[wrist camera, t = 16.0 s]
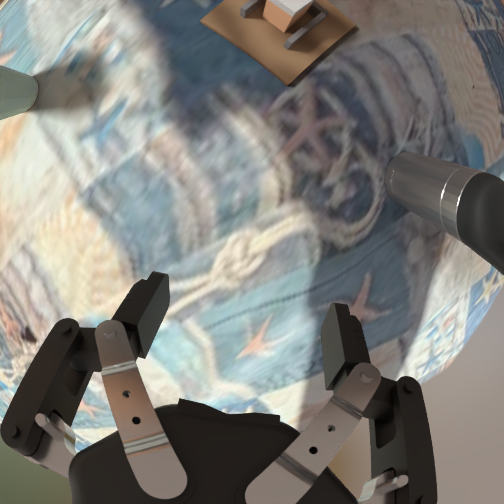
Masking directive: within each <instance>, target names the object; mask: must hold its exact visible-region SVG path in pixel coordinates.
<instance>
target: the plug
mask: <svg viewBox="0 0 504 504" xmlns="http://www.w3.org/2000/svg"><path fill="white" fill-rule="evenodd" d="M313 1H314V0H267V1H266V5H265V8H264V12H263V16H262V17H263V18H265V19H266V20H268V21H269V22H270V23H272V24H273V25H275V26H276V27H277V28H279V29H280V30H281V31H283V32H286V31H287V30H288V29H289V28H290V27H292V26H293V25H294V24H295V23H297V22H298V21H299V20H301V19H302V18H303V16H304V15H305V13H306V12H307V10H308V9H309V7H310V6H311V4H312V3H313Z"/></svg>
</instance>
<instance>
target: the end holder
mask: <svg viewBox="0 0 504 504" xmlns="http://www.w3.org/2000/svg"><path fill="white" fill-rule="evenodd" d="M266 1H267V0H224V1H223V2H222V3H220V4H219V5H218V6H217V7H215V8H214V9H213V10H212V11H211V12H210V13H208V14H207V15H206V16H205V17H204V18H203V19H202V20H200V22H201V23H202V24H203V25H205V26H206V27H208V28H210V29H211V30H213V31H214V32H216V33H217V34H219V35H220V36H222V37H223V38H225V39H226V40H228V41H229V42H231V43H232V44H234V45H235V46H237V47H238V48H239V49H241V50H242V51H243V52H245V53H246V54H248V55H249V56H250V57H252V58H253V59H254V60H256V61H257V62H258V63H259V64H261V65H262V66H263V67H264V68H266V69H267V70H268V71H269V72H271V73H272V74H273V75H274V76H276V77H277V78H278V79H279V80H280V81H282V82H283V83H284V84H285V85H286V86H288V85H289V84H290V83H291V82H292V81H293V80H294V79H295V78H296V77H297V76H298V75H299V74H300V73H301V72H302V71H303V70H305V69H306V68H307V67H308V66H309V65H310V64H311V63H312V62H313V61H314V60H316V59H317V58H318V57H319V56H320V55H321V54H322V53H323V52H325V51H326V50H327V49H328V48H329V47H330V46H332V45H333V44H334V43H335V42H336V41H337V40H339V39H340V38H341V37H342V36H343V35H345V34H346V33H347V32H348V31H350V30H351V29H352V28H353V27H355V26H356V25H355V24H354V23H353V22H352V21H351V20H350V19H349V18H347V17H346V16H345V15H344V14H343V13H342V12H341V11H339V10H338V9H337V8H336V7H335V6H333V5H332V4H331V3H330V2H328V1H327V0H314V1H313V3H312V4H311V6H310V7H309V9H308V10H307V12H306V13H305V15H304V16H303V18H302V19H301V20H299V21H298V22H297V23H295V24H294V25H293V26H292V27H290V28H289V29H288V30H287V31H286V32H283V31H281V30H280V29H279V28H277V27H276V26H275V25H273V24H272V23H270V22H269V21H268V20H266V19H265V18H263V17H262V16H263V12H264V8H265V5H266Z"/></svg>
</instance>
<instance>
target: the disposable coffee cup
mask: <svg viewBox="0 0 504 504" xmlns="http://www.w3.org/2000/svg"><path fill="white" fill-rule="evenodd" d="M38 90H39V87H38V83H37V81H36V80H35V79H34V78H33V77H32V76H29V75H27V74H24V73H21V72H18V71H15V70H13V69H10V68H7V67H4V66H1V65H0V120H2V119H5V118H8V117H11V116H14V115H17V114H20V113H24V112H26V111H27V110H28V109H29V108H30V107H32V106H33V104H34V102H35V100H36V99H37V95H38Z"/></svg>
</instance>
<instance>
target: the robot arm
mask: <svg viewBox="0 0 504 504" xmlns="http://www.w3.org/2000/svg"><path fill="white" fill-rule="evenodd" d="M385 185H386V190H387V192H388V194H389V196H390V197H391V199H392V200H393V201H394V202H396V203H398V204H399V205H401V206H403V207H405V208H406V209H408V210H410V211H412V212H413V213H415V214H417V215H419V216H420V217H422V218H424V219H425V220H427V221H429V222H430V223H432V224H434V225H435V226H437V227H439V228H440V229H442V230H443V231H445V232H447V233H448V234H450V235H452V236H453V237H455V238H456V239H458V240H459V241H461V242H462V243H464V244H465V245H467V246H468V247H470V248H471V249H472V250H473V251H474V252H476V253H477V254H478V255H479V256H481V257H482V258H483V259H485V260H486V261H487V262H489V263H490V264H491V265H492V266H493V267H495V268H496V269H497V270H498V271H499V272H500V273H502V274H503V275H504V181H503V180H501V179H500V178H499V177H496V176H494V175H491V174H489V173H485V172H482V171H479V170H476V169H473V168H470V167H466V166H463V165H459V164H456V163H452V162H448V161H445V160H441V159H437V158H433V157H429V156H425V155H421V154H416V153H412V152H402V153H400V154H398V155H396V156H395V157H394V158H393V159H392V160H391V161H390V163H389V165H388V167H387V170H386V175H385ZM169 303H170V291H169V276H168V274H165V273H160V272H155V271H153V272H152V273H151V274H150V276H149V278H148V279H147V280H143V279H141V280H140V281H138V282H137V283H136V284H134V285H133V287H132V288H131V290H130V291H129V293H128V294H127V296H126V297H125V299H124V300H123V302H122V303H121V305H120V306H119V308H118V309H117V311H116V313H115V314H114V316H113V317H112V319H111V320H106V321H104V322H102V323H100V324H99V325H98V326H97V328H83V327H79V324H78V322H77V321H76V320H74V319H71V318H65V319H62V320H60V321H58V322H57V323H56V324H55V325H54V327H53V328H52V330H51V332H50V333H49V335H48V336H47V338H46V339H45V341H44V343H43V344H42V346H41V348H40V349H39V351H38V353H37V354H36V356H35V358H34V359H33V361H32V363H31V365H30V367H29V368H28V370H27V372H26V374H25V376H24V377H23V379H22V381H21V383H20V385H19V387H18V389H17V391H16V393H15V395H14V397H13V399H12V401H11V403H10V406H9V408H8V410H7V412H6V414H5V417H4V419H3V421H2V424H1V429H0V431H1V436H2V439H3V440H4V442H5V443H6V444H7V445H8V446H9V447H11V448H12V449H14V450H16V451H17V452H18V453H19V454H20V455H22V456H23V457H25V458H27V459H28V460H30V461H32V462H34V463H36V464H38V465H40V466H42V467H44V468H47V469H51V470H53V471H55V472H57V473H59V474H60V475H62V476H64V477H66V478H68V479H69V482H70V486H71V491H72V504H437V483H436V472H435V462H434V455H433V447H432V440H431V435H430V428H429V423H428V418H427V413H426V408H425V403H424V400H423V394H422V390H421V387H420V384H419V383H418V382H417V381H416V380H415V379H414V378H412V377H409V376H403V377H401V378H400V379H399V380H398V381H394V380H390V379H387V378H384V377H382V376H381V374H380V372H379V370H378V369H377V368H376V367H375V366H374V365H372V364H371V362H370V358H369V353H368V349H367V345H366V341H365V337H364V333H363V330H362V326H361V323H360V322H359V320H358V319H357V318H356V316H353V315H350V312H349V308H348V305H347V304H340V303H332V304H331V305H330V308H329V310H328V312H327V315H326V317H325V319H324V322H323V324H322V327H321V344H322V354H323V364H324V375H325V387H326V390H333V392H334V395H333V397H332V398H331V399H330V400H329V402H328V403H327V404H326V405H325V406H324V408H323V409H322V410H321V411H320V413H319V414H318V415H317V416H316V417H315V418H314V420H313V421H312V422H311V423H310V424H309V425H308V426H307V428H306V429H305V430H304V431H303V432H302V433H301V434H300V433H299V432H298V431H297V430H296V429H294V428H293V427H291V426H289V425H287V424H285V423H283V422H280V415H273V414H264V413H256V412H255V413H243V414H226V413H224V412H221V411H219V410H217V409H214V408H212V407H210V406H208V405H205V404H203V403H198V402H193V401H189V400H185V399H181V398H179V402H178V404H170V405H164V406H160V407H157V408H155V409H154V408H153V406H152V403H151V401H150V399H149V396H148V394H147V391H146V389H145V386H144V383H143V381H142V378H141V376H140V373H139V370H138V367H137V364H136V360H137V358H138V357H140V358H144V359H145V358H146V356H147V354H148V351H149V349H150V347H151V345H152V342H153V340H154V338H155V336H156V334H157V331H158V329H159V327H160V325H161V323H162V321H163V319H164V316H165V314H166V312H167V310H168V307H169ZM93 372H101V375H102V379H103V383H104V387H105V390H106V394H107V397H108V401H109V404H110V407H111V411H112V414H113V417H114V420H115V423H116V426H117V429H118V430H117V431H116V432H114V433H112V434H110V435H109V436H107V437H105V438H103V439H102V440H100V441H98V442H96V443H94V444H92V445H91V446H89V447H87V448H85V449H83V450H81V451H80V452H78V453H77V454H76V451H75V441H76V438H75V434H74V431H73V430H72V429H71V425H72V422H73V420H74V417H75V415H76V412H77V410H78V407H79V405H80V402H81V400H82V397H83V395H84V392H85V390H86V388H87V385H88V383H89V381H90V378H91V376H92V374H93ZM362 417H365V418H369V428H370V445H371V474H372V475H371V479H370V480H368V481H367V483H366V484H365V485H364V487H363V490H362V494H361V497H360V499H359V500H358V501H357V500H356V498H355V497H354V496H353V494H352V493H351V492H350V491H349V490H348V489H347V488H346V487H345V486H344V484H343V483H342V482H341V481H340V480H339V479H338V478H337V477H336V476H335V474H334V473H333V472H332V471H331V470H330V468H329V467H328V466H327V465H328V464H329V463H330V461H331V460H332V459H333V458H334V456H335V455H336V454H337V452H338V451H339V450H340V448H341V447H342V446H343V444H344V443H345V442H346V440H347V438H348V437H349V436H350V434H351V433H352V432H353V430H354V428H355V427H356V426H357V424H358V423H359V421H360V419H361V418H362Z"/></svg>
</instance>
